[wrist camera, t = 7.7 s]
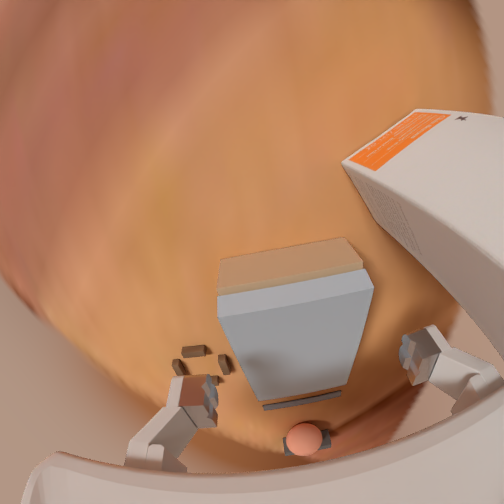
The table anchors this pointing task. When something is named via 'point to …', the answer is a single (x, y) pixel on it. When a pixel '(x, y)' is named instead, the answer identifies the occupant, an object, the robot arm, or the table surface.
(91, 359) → the table surface
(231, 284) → the ramp
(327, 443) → the rail
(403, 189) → the skincare box
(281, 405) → the line
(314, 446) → the ball
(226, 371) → the stand
